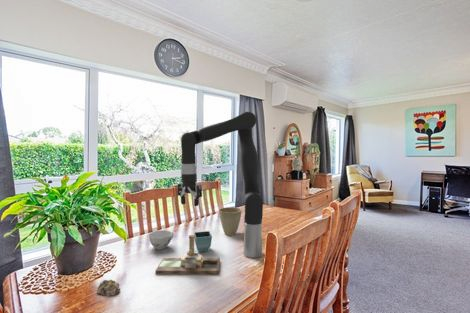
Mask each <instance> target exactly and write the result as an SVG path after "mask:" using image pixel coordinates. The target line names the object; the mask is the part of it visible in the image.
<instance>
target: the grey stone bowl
mask: <svg viewBox="0 0 470 313" xmlns="http://www.w3.org/2000/svg"><path fill="white" fill-rule="evenodd" d="M148 237H149V238H148V239H149V242H150V244H151V245H152V247H153V248H155V249H156V250H158V251H159V250H160V251H161V250H165V249H166V248H167V247H168V245H170V243H171V241H172V240H173V239H174V232H172V231H170V230H164V229H163V230H162V229H161V230H160V229H159V230H155V231H152V232H150V233H149V234H148Z"/></svg>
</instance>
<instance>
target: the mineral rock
mask: <svg viewBox="0 0 470 313" xmlns="http://www.w3.org/2000/svg"><path fill="white" fill-rule="evenodd" d="M96 292H97V294H98V295H102V296H107V297H111V296H116V295H119V294H120V292H121V287H120V283H119V282H116V281H115V280H113V279H108V280H107V279H104V280H103V281H102V282H100V284H99V286H98V287H97V290H96Z"/></svg>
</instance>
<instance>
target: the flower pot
mask: <svg viewBox="0 0 470 313" xmlns="http://www.w3.org/2000/svg"><path fill="white" fill-rule="evenodd" d="M193 235H195V237H194V245H195V246H196V249H197V250H196V251H198V253H203V252H204V253H205V252H208V251H209V250H210V249H211V246H212V239H213V236H212V234H211V232H210V231H209V230H208V231H196V232H195V231H194V232H193Z"/></svg>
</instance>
